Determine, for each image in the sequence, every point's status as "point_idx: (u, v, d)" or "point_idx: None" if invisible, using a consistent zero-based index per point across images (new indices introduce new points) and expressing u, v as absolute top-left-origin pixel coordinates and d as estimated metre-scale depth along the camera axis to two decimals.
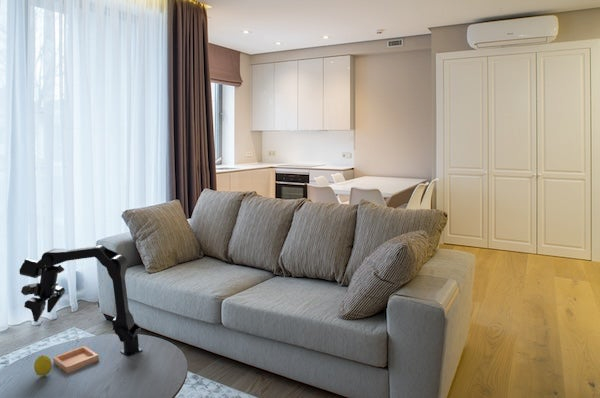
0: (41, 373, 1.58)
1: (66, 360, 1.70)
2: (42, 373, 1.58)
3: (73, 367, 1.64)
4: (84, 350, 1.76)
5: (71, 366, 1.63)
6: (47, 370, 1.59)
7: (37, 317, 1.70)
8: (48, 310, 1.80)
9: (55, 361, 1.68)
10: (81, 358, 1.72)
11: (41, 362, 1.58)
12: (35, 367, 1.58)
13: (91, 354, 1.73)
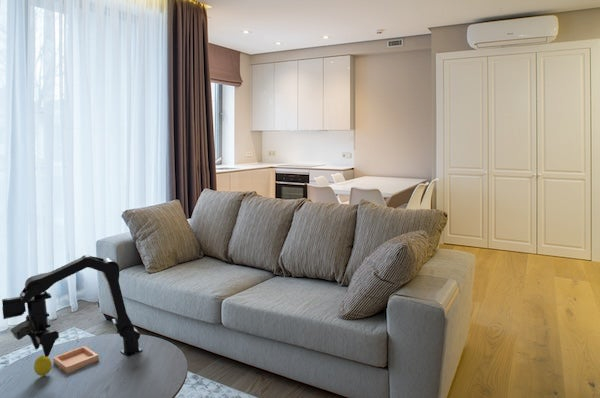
0: (41, 373, 1.58)
1: (66, 360, 1.70)
2: (42, 373, 1.58)
3: (73, 367, 1.64)
4: (84, 350, 1.76)
5: (71, 366, 1.63)
6: (47, 370, 1.59)
7: (49, 350, 1.56)
8: (36, 346, 1.62)
9: (55, 361, 1.68)
10: (81, 358, 1.72)
11: (40, 362, 1.58)
12: (35, 367, 1.58)
13: (91, 354, 1.73)
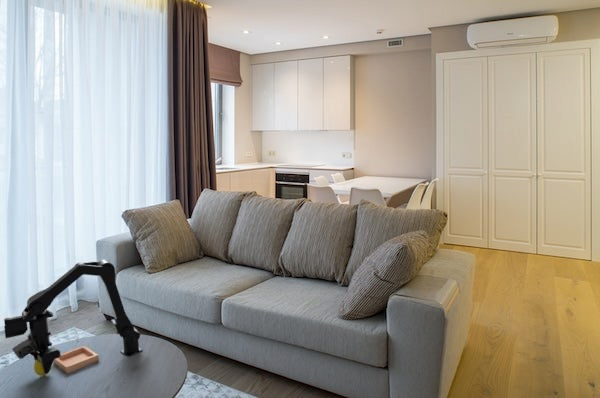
0: (41, 373, 1.58)
1: (66, 360, 1.70)
2: (42, 373, 1.58)
3: (73, 367, 1.64)
4: (84, 350, 1.76)
5: (71, 366, 1.63)
6: None
7: (49, 367, 1.58)
8: None
9: (55, 361, 1.68)
10: (81, 358, 1.72)
11: (40, 362, 1.58)
12: (35, 367, 1.58)
13: (91, 354, 1.73)
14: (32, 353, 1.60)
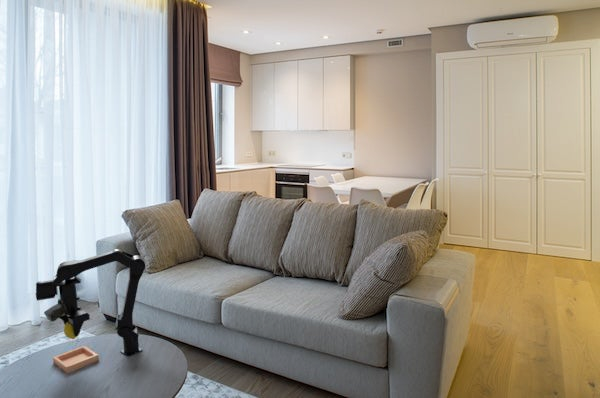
0: (71, 336, 1.66)
1: (66, 360, 1.70)
2: (72, 336, 1.66)
3: (73, 367, 1.64)
4: (84, 350, 1.76)
5: (71, 366, 1.63)
6: None
7: (79, 330, 1.66)
8: None
9: (55, 361, 1.68)
10: (81, 358, 1.72)
11: (70, 325, 1.66)
12: (65, 330, 1.66)
13: (91, 354, 1.73)
14: (62, 317, 1.68)
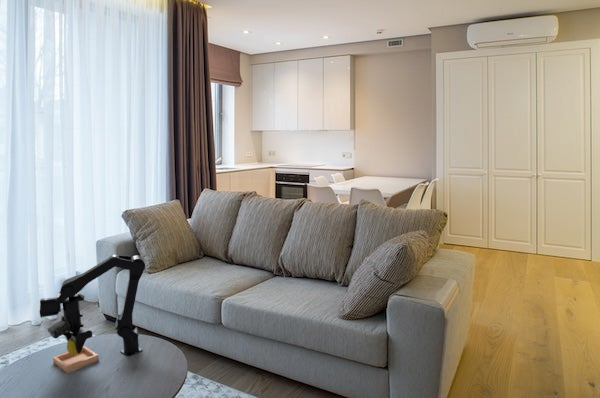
0: (74, 352, 1.68)
1: (66, 360, 1.70)
2: (75, 352, 1.68)
3: (73, 367, 1.64)
4: (84, 350, 1.76)
5: (71, 366, 1.63)
6: None
7: (81, 347, 1.68)
8: None
9: (55, 361, 1.68)
10: (81, 358, 1.72)
11: (73, 342, 1.67)
12: (68, 347, 1.67)
13: (91, 354, 1.73)
14: (65, 334, 1.70)
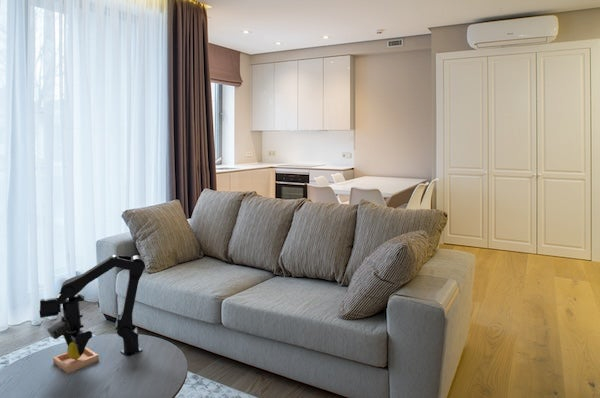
0: (74, 357, 1.68)
1: (66, 360, 1.70)
2: (75, 357, 1.68)
3: (73, 367, 1.64)
4: (84, 350, 1.76)
5: (71, 366, 1.63)
6: None
7: (83, 348, 1.67)
8: None
9: (55, 361, 1.68)
10: (81, 358, 1.72)
11: (74, 346, 1.68)
12: (68, 351, 1.67)
13: (91, 354, 1.73)
14: (63, 333, 1.71)
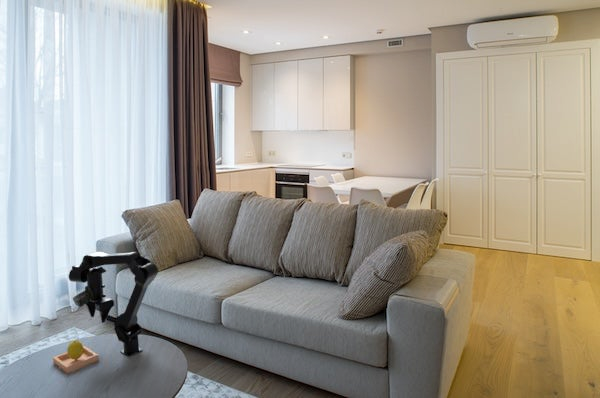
0: (74, 357, 1.68)
1: (66, 360, 1.70)
2: (75, 357, 1.68)
3: (73, 367, 1.64)
4: (84, 350, 1.76)
5: (71, 366, 1.63)
6: (80, 354, 1.69)
7: (105, 316, 1.78)
8: (92, 315, 1.84)
9: (55, 361, 1.68)
10: (81, 358, 1.72)
11: (74, 346, 1.68)
12: (68, 351, 1.67)
13: (91, 354, 1.73)
14: (86, 303, 1.82)
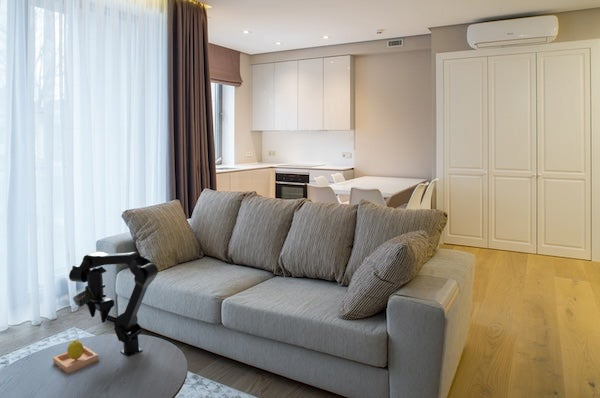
0: (74, 357, 1.68)
1: (66, 360, 1.70)
2: (75, 357, 1.68)
3: (73, 367, 1.64)
4: (84, 350, 1.76)
5: (71, 366, 1.63)
6: (80, 354, 1.69)
7: (106, 316, 1.78)
8: (92, 314, 1.84)
9: (55, 361, 1.68)
10: (81, 358, 1.72)
11: (74, 346, 1.68)
12: (68, 351, 1.67)
13: (91, 354, 1.73)
14: (86, 303, 1.82)
